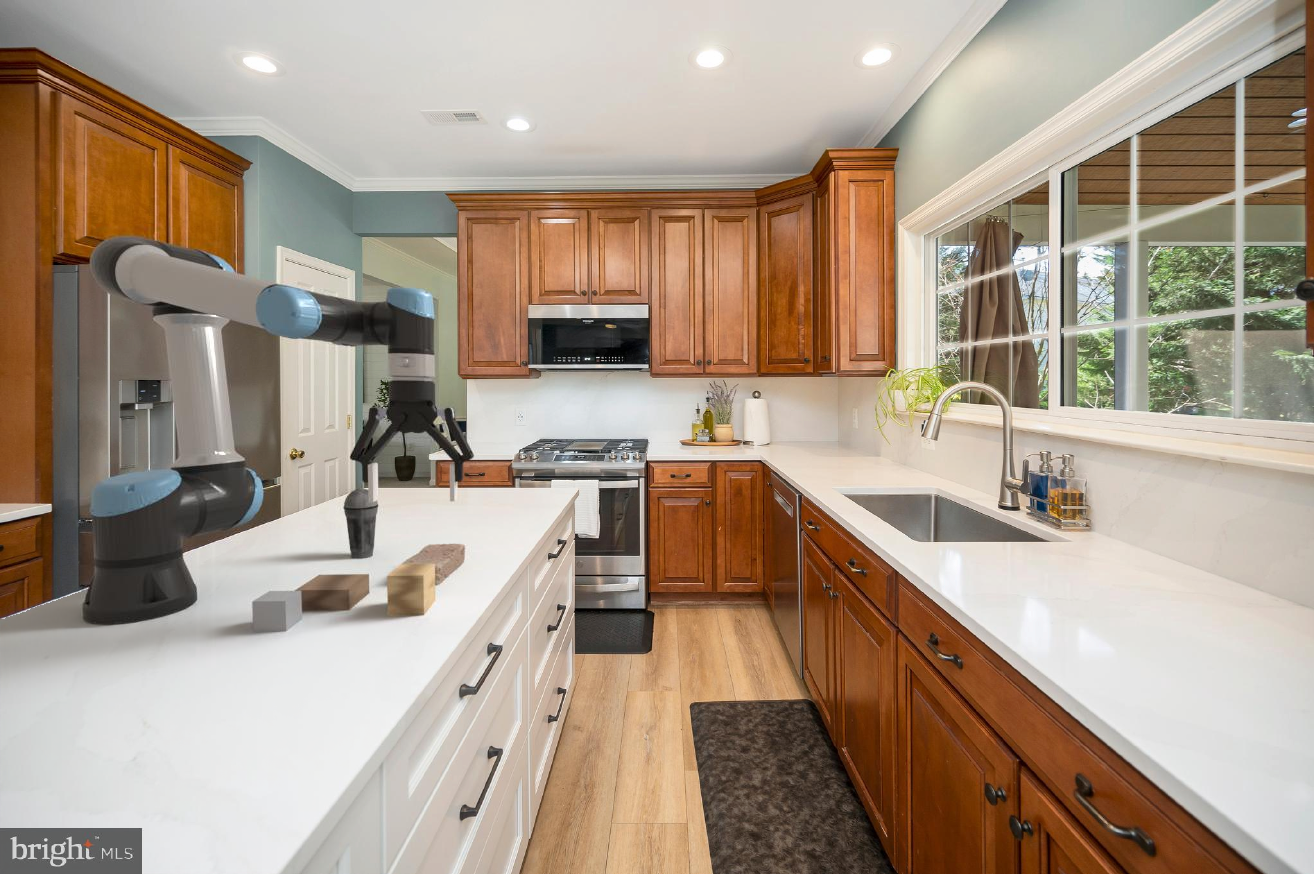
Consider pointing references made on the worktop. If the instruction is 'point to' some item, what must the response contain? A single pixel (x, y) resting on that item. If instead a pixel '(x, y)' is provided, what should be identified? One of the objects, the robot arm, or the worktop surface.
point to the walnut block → (334, 592)
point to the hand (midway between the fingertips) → (414, 500)
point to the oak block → (411, 589)
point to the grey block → (277, 611)
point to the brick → (440, 559)
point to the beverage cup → (360, 522)
